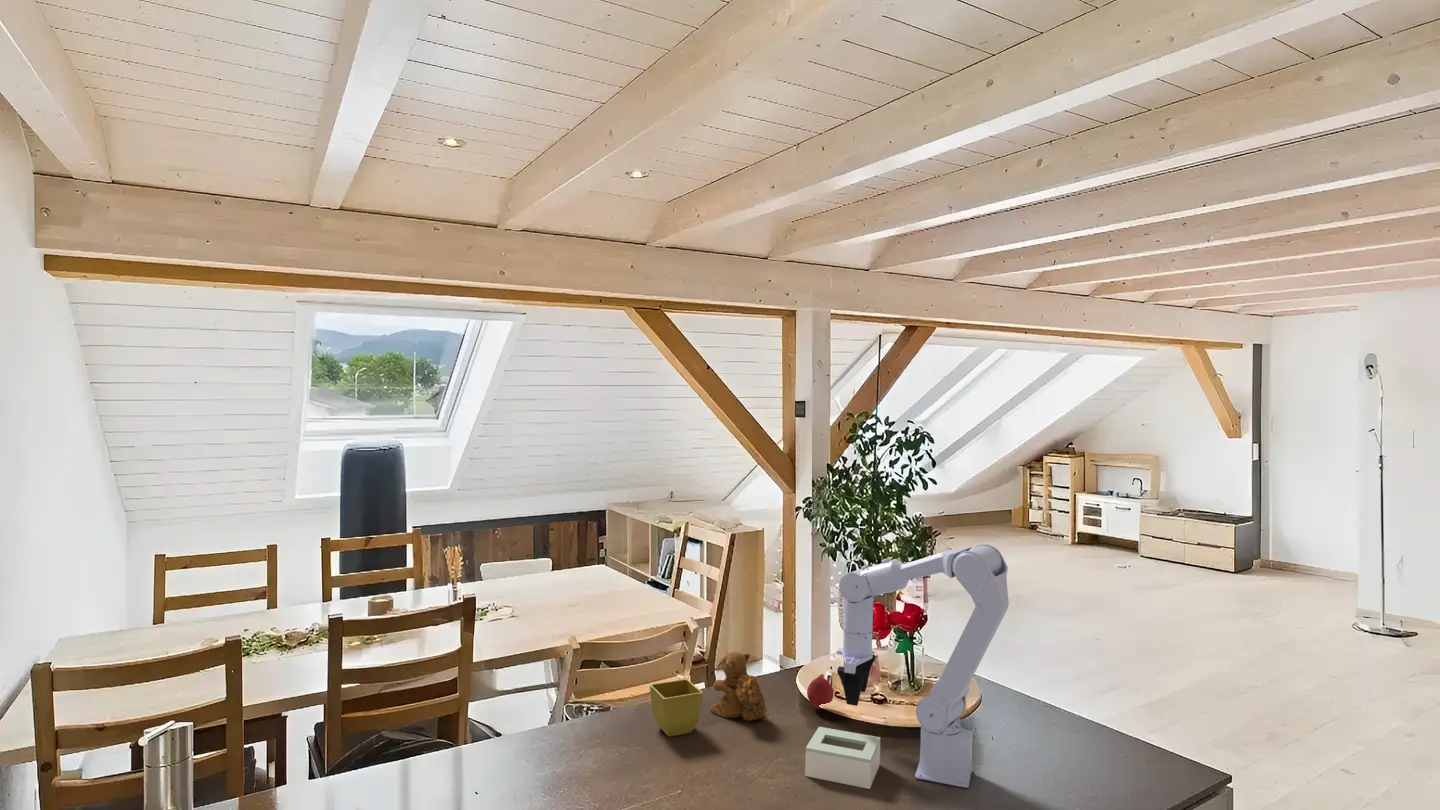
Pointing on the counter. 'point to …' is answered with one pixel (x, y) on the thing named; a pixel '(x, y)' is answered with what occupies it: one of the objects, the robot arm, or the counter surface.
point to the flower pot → (676, 706)
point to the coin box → (843, 757)
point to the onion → (819, 691)
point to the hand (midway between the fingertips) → (856, 697)
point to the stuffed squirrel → (738, 690)
